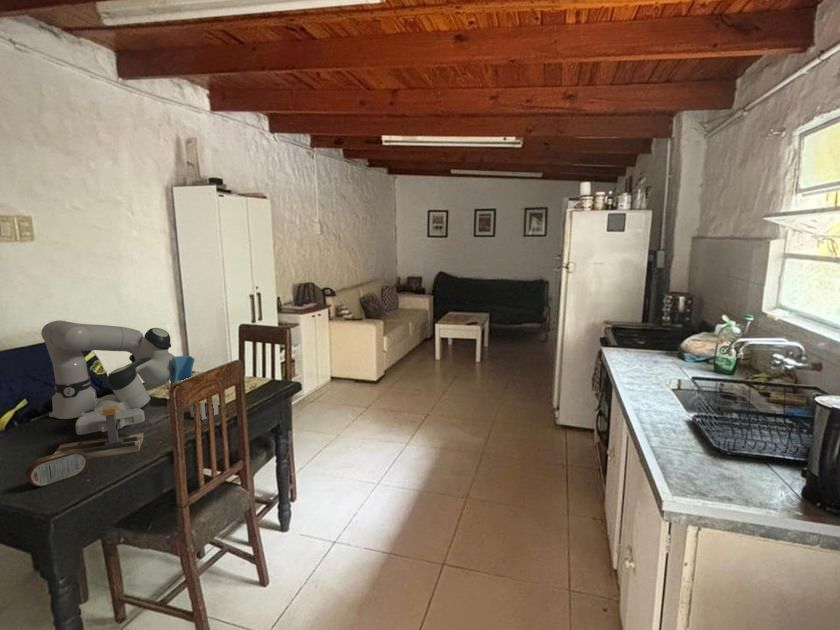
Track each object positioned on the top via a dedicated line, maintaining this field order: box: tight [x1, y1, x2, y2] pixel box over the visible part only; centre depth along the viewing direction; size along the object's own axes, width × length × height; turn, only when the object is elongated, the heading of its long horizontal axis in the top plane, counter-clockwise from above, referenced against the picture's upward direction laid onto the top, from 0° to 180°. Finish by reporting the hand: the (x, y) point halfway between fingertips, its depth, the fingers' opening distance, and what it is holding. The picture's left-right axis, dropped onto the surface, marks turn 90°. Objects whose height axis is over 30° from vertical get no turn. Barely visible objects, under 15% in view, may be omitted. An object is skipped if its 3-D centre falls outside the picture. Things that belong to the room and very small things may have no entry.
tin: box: [25, 449, 89, 488], centre depth 143 cm, size 15×3×8 cm, turn 141°
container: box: [189, 395, 219, 421], centre depth 194 cm, size 8×8×13 cm
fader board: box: [53, 432, 145, 460], centre depth 163 cm, size 12×25×3 cm, turn 112°
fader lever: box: [102, 405, 124, 446], centre depth 161 cm, size 4×5×14 cm
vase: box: [169, 355, 196, 385], centre depth 209 cm, size 8×8×20 cm
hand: (112, 428), depth 160 cm, fingers closed on fader lever, 3 cm apart
